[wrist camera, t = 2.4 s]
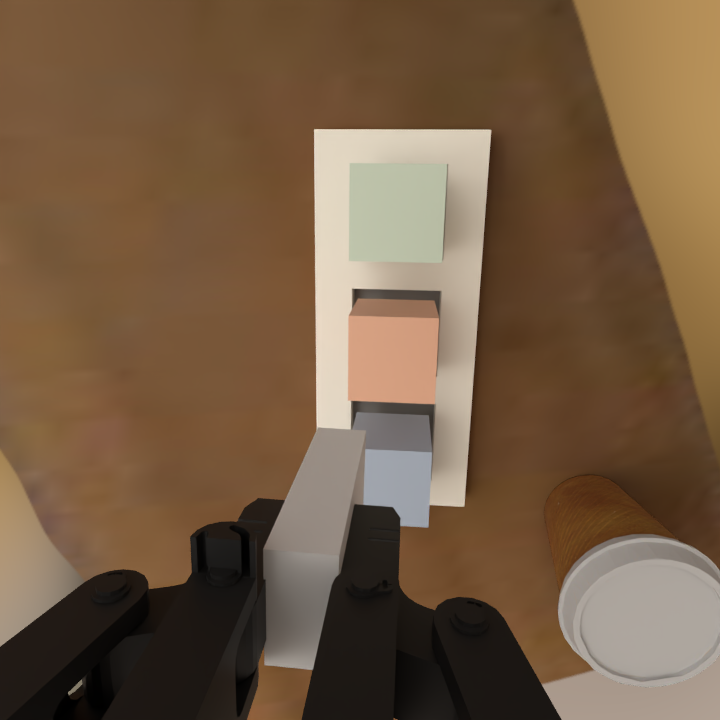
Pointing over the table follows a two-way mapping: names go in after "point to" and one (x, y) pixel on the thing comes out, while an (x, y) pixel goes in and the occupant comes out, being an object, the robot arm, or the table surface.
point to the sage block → (397, 212)
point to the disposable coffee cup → (630, 587)
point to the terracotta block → (393, 351)
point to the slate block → (398, 464)
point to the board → (404, 284)
